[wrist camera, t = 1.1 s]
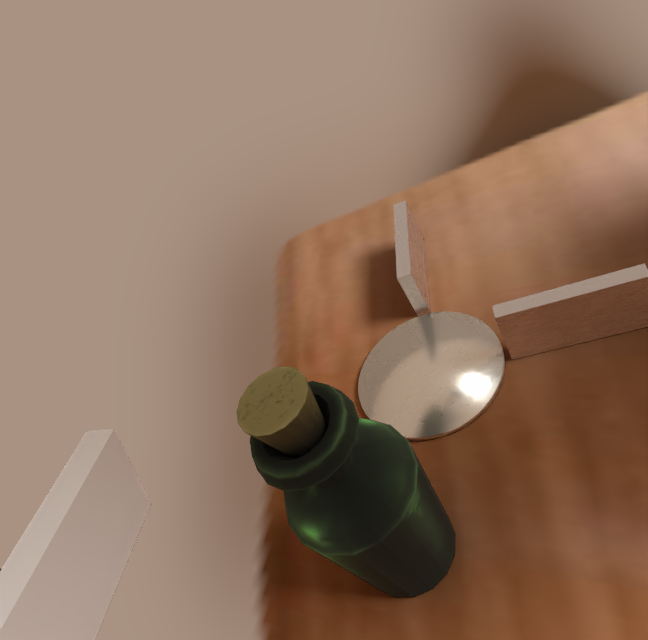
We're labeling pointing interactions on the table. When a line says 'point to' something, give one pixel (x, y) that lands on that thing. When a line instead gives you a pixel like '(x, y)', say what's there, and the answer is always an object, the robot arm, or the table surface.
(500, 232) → the table surface
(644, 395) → the table surface
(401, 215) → the shiny disc with plates
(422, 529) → the potion bottle
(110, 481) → the robot arm
